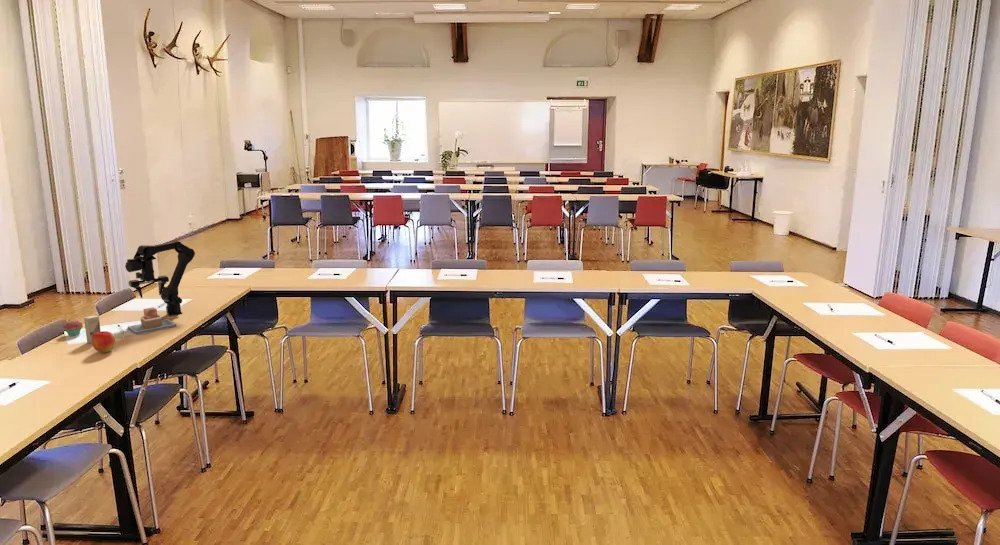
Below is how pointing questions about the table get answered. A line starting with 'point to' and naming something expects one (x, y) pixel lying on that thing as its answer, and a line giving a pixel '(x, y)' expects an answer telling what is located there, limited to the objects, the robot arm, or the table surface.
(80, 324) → the cupcake
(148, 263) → the robot arm
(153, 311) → the terracotta block
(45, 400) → the table surface
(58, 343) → the table surface
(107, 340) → the apple
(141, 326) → the blueprint board
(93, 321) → the box
